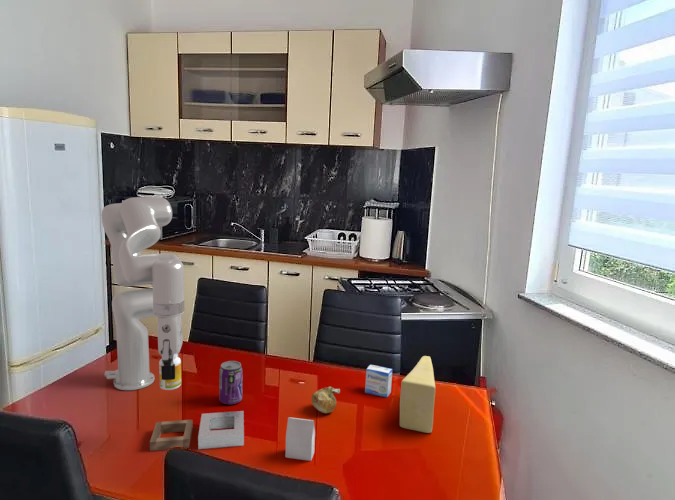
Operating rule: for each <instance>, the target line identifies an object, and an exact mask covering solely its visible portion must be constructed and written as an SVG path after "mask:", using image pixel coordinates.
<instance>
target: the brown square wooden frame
mask: <svg viewBox="0 0 675 500" xmlns="http://www.w3.org/2000/svg"><path fill="white" fill-rule="evenodd" d="M193 421H194V420H193V419H183V420H180V419H179V420H169V421H156V422H155V425H154V429H153V432H152V434H151V438H150V440H149V451H150V452H155V451H166V450H168V449H169V448H171V447H176V446H178V447H185V448H184V449H189V448H190V446H191V439H192V433H193V430H194V429H193V428H194V427H193V426H194V422H193ZM177 432H178V433H181V432H184V434H183V436H171V437H161V436H162V434H164V433H166V434H168V433H177ZM169 450H170V449H169Z"/></svg>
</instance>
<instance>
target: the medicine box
mask: <svg viewBox="0 0 675 500" xmlns="http://www.w3.org/2000/svg"><path fill="white" fill-rule="evenodd" d="M365 370H366V373H365V388H364V393H365V394H367V395H368V394H369V395H373V396H379V397H382V398H386V399H387V398H388V397H389V396H390V394H391V393H392V382H393V381H392V379H393V368H388V367H384V366H380V365H374V364H369V365H368V366H367V368H366V369H365Z"/></svg>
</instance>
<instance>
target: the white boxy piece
mask: <svg viewBox="0 0 675 500" xmlns="http://www.w3.org/2000/svg"><path fill="white" fill-rule="evenodd" d="M315 438H316V428H315V420H313V419H306V418H297V417H289V416H288V417H287V424H286V432H285V455H284V456H285V458H287V459H295V460H302V461H310V462H312V459H313V457H314V454H315V445H316V444H315V441H316V439H315Z"/></svg>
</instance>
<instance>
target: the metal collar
mask: <svg viewBox="0 0 675 500" xmlns="http://www.w3.org/2000/svg"><path fill="white" fill-rule="evenodd" d="M244 413H245V412H244V410H240V411H239V410H238V411H224V412H223V411H222V412H209V413H208V412H207V413H201V417H200V423H199V430H198V435H197V442H198V443H197V445H198V447H197V449H198V450H207V449H218V448H231V447H240V446H241V447H242V446H244V445H245V425H244V423H245V420H244V418H245V417H244V416H245V415H244Z"/></svg>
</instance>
